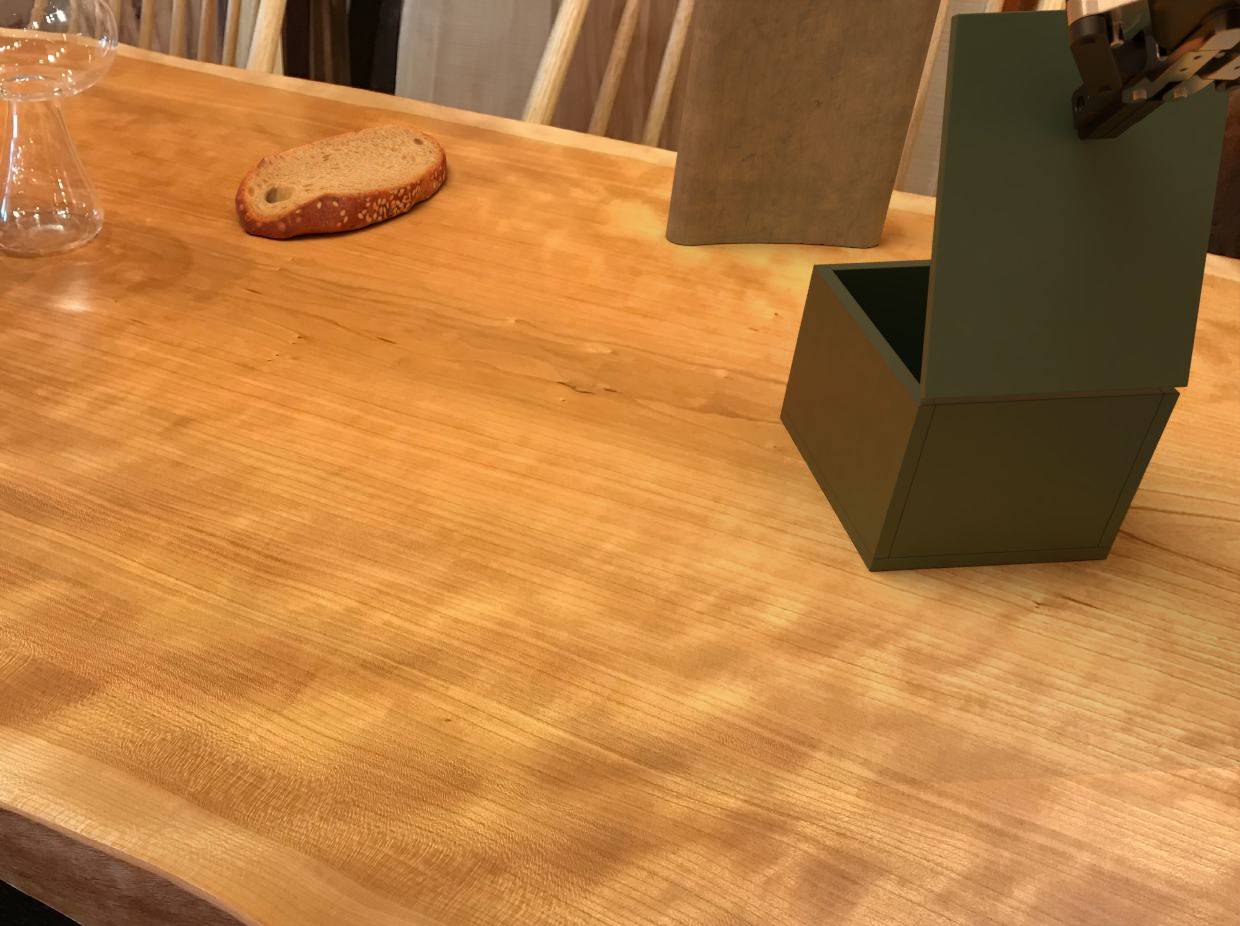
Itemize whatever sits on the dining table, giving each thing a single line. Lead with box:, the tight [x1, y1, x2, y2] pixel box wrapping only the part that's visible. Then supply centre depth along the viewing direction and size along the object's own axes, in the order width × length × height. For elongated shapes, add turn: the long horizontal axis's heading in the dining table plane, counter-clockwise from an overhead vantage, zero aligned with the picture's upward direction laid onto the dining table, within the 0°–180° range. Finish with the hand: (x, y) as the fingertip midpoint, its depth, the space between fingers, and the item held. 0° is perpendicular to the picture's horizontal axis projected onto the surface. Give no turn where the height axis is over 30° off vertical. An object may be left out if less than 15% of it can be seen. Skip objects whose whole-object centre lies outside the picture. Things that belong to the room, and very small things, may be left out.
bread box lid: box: [919, 9, 1231, 399], centre depth 59 cm, size 16×13×1 cm
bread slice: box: [234, 123, 448, 239], centre depth 106 cm, size 18×18×4 cm
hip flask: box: [665, 0, 942, 249], centre depth 93 cm, size 16×4×20 cm, turn 85°
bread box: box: [779, 258, 1181, 572], centre depth 71 cm, size 16×13×10 cm
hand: (1093, 118), depth 57 cm, fingers closed
